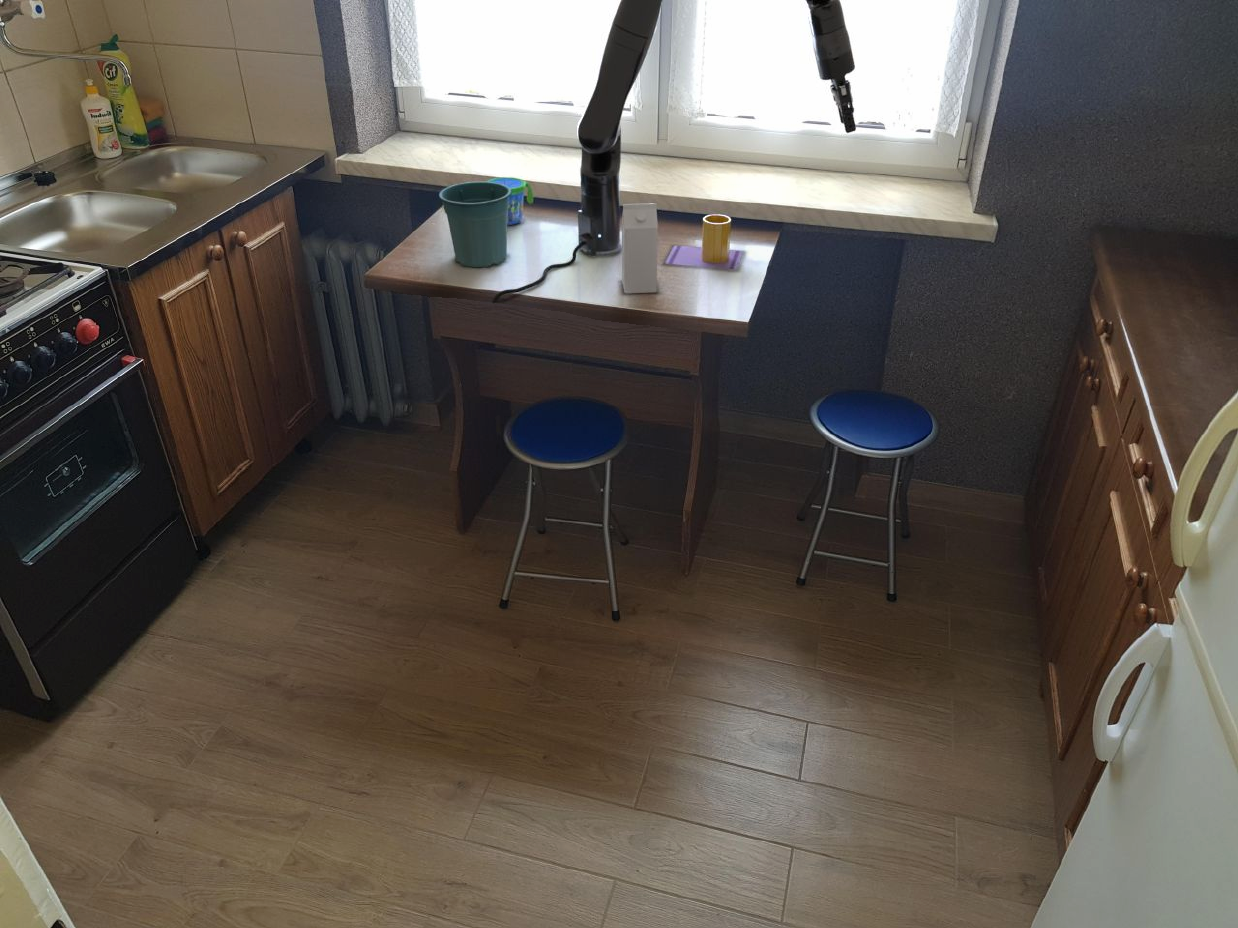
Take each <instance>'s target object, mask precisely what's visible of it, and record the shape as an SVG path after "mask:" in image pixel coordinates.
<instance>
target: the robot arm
mask: <svg viewBox="0 0 1238 928" xmlns="http://www.w3.org/2000/svg"><path fill="white" fill-rule="evenodd" d="M663 1H664V0H620V2H619V4H618V6H617V9H616V11H615V14H614V16H613V19H612V22H611V25H610V28H609V31H608V35H607V38H606V42H605V44H604V49H603V53H602V57H601V61H600V65H599V69H598V74H597V79H596V83H595V86H594V89H593V91H592V95H591V97H590V98H589V102H588V104H587V106H586V108H585V111H584V113H583V114H582V116H581V117H580V120H579V121H578V124H577V132H576V133H577V138H578V142H579V144H580V146H581V147H580V149H581V154H580V155H581V157H580V166H579V167H580V168H579V177H580V179H579V180H580V210H578V211H577V233H578V234H577V235H578V245H576V247H574V249H573V251H572V257H571V259H570V260H569V261H567V262H563V263H555V264H551V265H548V266H546V268H544V270H543V272H542V276H541V277H540V278H539V279H537V280H535V281H533V282H530V283H529V284H526V285H523V286H520V287H517V288H510V289H504V290H501V291H499V292H497V294H496V295H495V296H494V297H493V298H492V301H491V302H492V303H496V302H497V301H498V300H499V299H500V298H501V297H502V296H504V295H506V294H507V295H508V294H516V293H520V292H522V291H525V290H528V289H531V288H533V287H536V286H538V285H540V284H541V283H542V282H544V281H545V280H546V277H547V275H548V272H549V271H551V270H552V269H558V268H565V267H568V266H572V265H573V264H574V263H575V262H576V261H577V254H578V251H581V252H583V253H585V254H586V255H588V256H590V257H600V256H601V257H603V256H606V257H607V256H611V255H615V254H617V253H619V252H620V251H621V218H620V217H621V198H620V197H621V195H620V194H621V192H620V191H621V187H620V186H621V178H620V177H621V176H620V175H621V163H622V125H621V120H622V116H623V112H624V108H625V104H626V102H627V100H628V97H629V94H630V92H631V90H632V88H633V86H634V84H635V82H636V80H637V79H638V76H639V74H640V72H641V69H642V67H643V66H644V63H645V61H646V59H647V57H648V53H649V51H650V49H651V45H652V42H653V39H654V37H655V33H656V30H657V27H658V22H659V19H660V14H661V10H662V6H663ZM805 4H806V7H807V8H806V9H807V16H808V23H809V28H810V32H811V36H812V48H813V52H814V57H815V60H816V65H817V70H818V76H819V79H820V80H822V81H830V85H829V88H830V92H831V93H832V99H833V101H834V102H835V105H836V107H837V110H838V116H839V118H840V119H839V120H840V123H841V124H843V125H844V131H845V133H847V134H849V133H853V132H855V131H856V130H857V127H856V126H857V125H856V122H855V121H856V120H855V117H854V112H855V107H854V104H853V102H854V97H853V94H852V86H851V81H849V79H846V76H847V75H849V74H851V73H852V72H853V71H855V69H856V65H855V60H854V59H855V58H854V54H853V49H852V44H851V40H850V39H851V38H850V34H849V31H848V29H847V25H846V21H845V16H844V11H843V6H842V3H841V1H840V0H805ZM500 421H501V420H500V415H497V416H495V426H496V427H495V428H496V435H497V436H501V422H500Z"/></svg>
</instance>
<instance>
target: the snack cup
mask: <svg viewBox="0 0 1238 928" xmlns="http://www.w3.org/2000/svg"><path fill="white" fill-rule="evenodd" d="M485 182H495V183H500V184H504V185H506V186H508V187H509V188H510V189H511V193H510V195H509V208H508V210H507V227H508V226H513V225H517V224H518V223H519V224H520V223H521V222H522V219H523V213H524V211H523V210H524V200H525V199H524V196H525V192H526V189H527V192H526V202H527V203H528V204H529V205H531V204H533V202H534V193H533V189H532V186H531V185H530V184H529V183H528V182H526V181H525V180H523V179H522V178H519V177H513V176H512V177H511V176H507V177H506V176H505V177H503V176H502V177H495V178H491V179H488V180H487V181H485Z"/></svg>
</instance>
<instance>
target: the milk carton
mask: <svg viewBox="0 0 1238 928" xmlns="http://www.w3.org/2000/svg"><path fill="white" fill-rule="evenodd" d="M657 211H658V210H657V202H652V203H650V202H648V203H623V204H622V213H621V282H622V287H623V291H624V294H649V293H657V290H658V289H657V288H658V286H657V285H658V244H659V243H658V242H659V239H658V237H659V223H658V213H657Z"/></svg>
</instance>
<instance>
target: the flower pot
mask: <svg viewBox="0 0 1238 928" xmlns="http://www.w3.org/2000/svg"><path fill="white" fill-rule="evenodd" d="M510 193H511V189H510V188H509V187H508V186H506V185H504V184H500V183H495V182H486V181H468V182H467V181H466V182H461V183H456V184H452V185H450V186H449V185H448V186H447V187H445V188H443V189H442V190H441V191H439V193H438V197H439V199H440V200H441V201H442V207H443V210H444V214H445V215H446V219H447V223H448V228H449V233H450V237H451V242H452V247H453V252H454V256H455V261H456V262H457V263H460V265H462V266H465V267H469V268H470V267H471V268H484V267H490V266H491V265H493V264H495V265H498V264H500V263H503V262H504V261H505V260H506V259H507V256H508V225H507V210H508V208H509V195H510Z"/></svg>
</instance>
